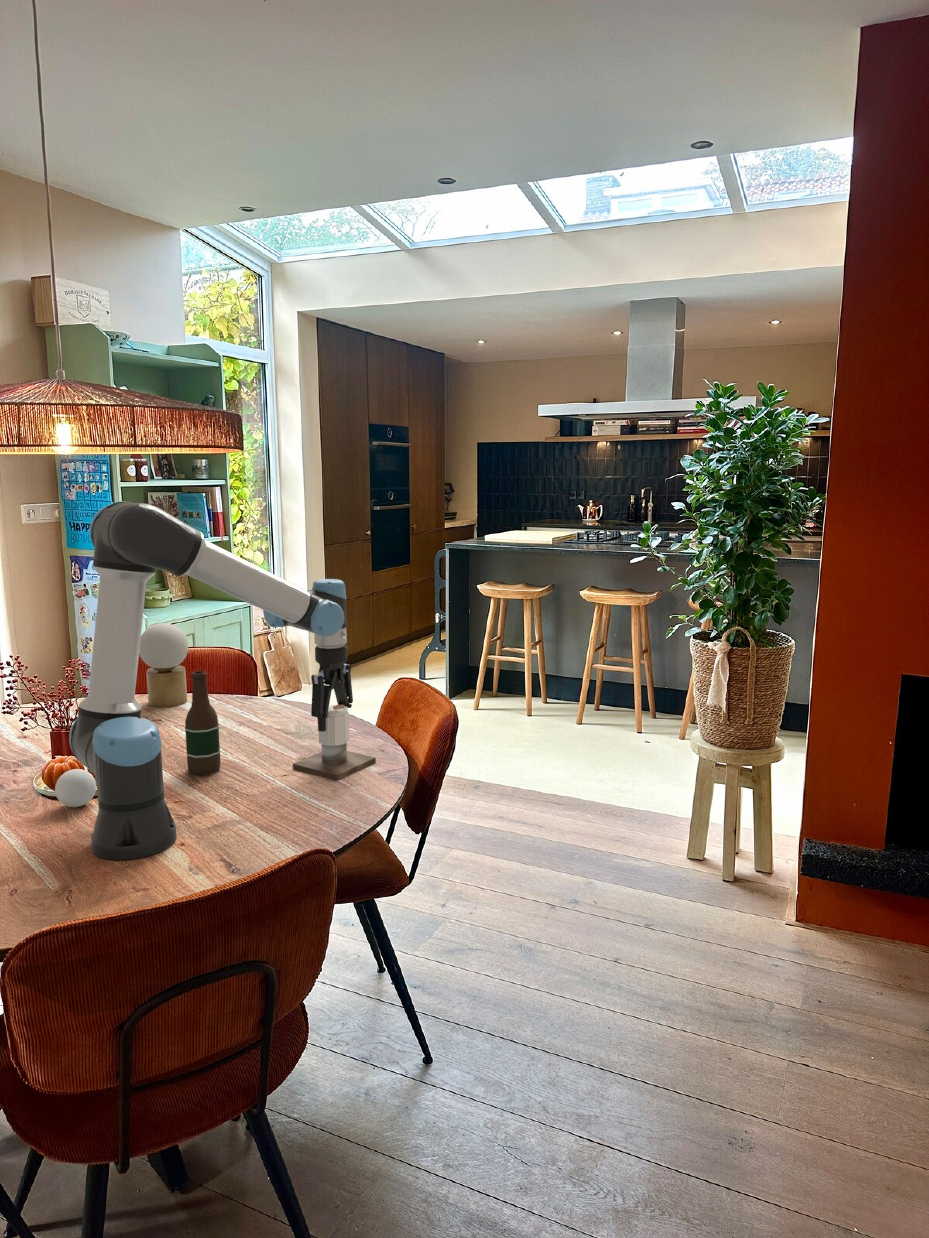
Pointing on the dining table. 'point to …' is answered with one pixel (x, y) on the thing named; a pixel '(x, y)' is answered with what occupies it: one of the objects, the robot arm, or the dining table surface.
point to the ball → (75, 788)
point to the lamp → (165, 664)
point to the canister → (338, 724)
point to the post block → (334, 762)
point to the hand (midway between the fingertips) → (333, 738)
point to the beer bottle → (202, 730)
